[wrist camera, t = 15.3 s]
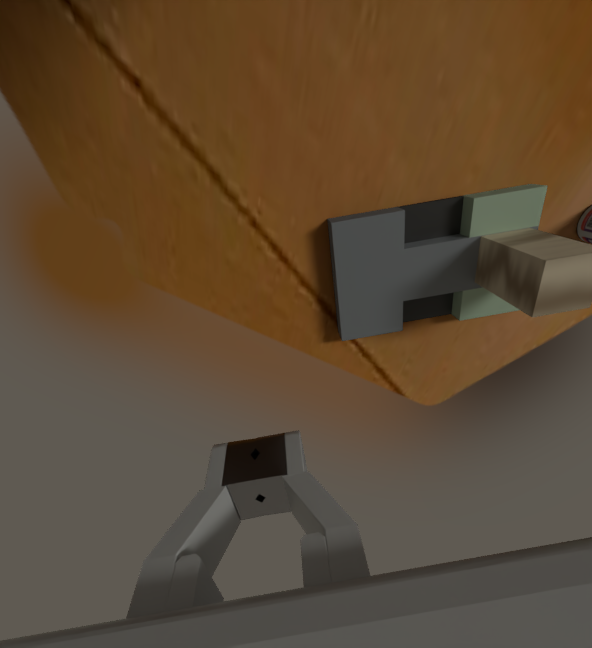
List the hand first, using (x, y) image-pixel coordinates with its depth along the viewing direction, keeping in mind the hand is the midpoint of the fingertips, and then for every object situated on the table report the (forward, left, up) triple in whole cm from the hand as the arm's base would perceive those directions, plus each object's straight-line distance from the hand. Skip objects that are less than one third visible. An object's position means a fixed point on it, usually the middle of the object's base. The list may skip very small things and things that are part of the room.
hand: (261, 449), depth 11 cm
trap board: (+7, +20, -31) cm, 38 cm away
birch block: (+6, +29, -29) cm, 41 cm away
